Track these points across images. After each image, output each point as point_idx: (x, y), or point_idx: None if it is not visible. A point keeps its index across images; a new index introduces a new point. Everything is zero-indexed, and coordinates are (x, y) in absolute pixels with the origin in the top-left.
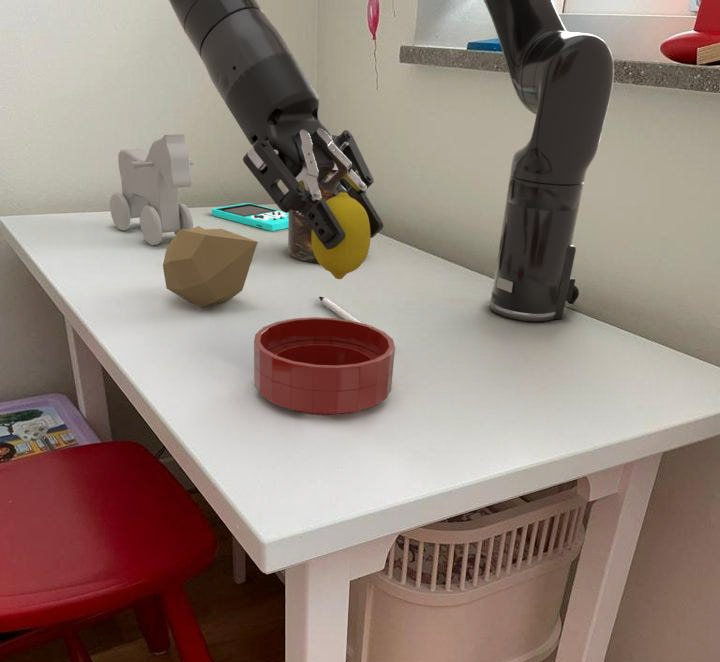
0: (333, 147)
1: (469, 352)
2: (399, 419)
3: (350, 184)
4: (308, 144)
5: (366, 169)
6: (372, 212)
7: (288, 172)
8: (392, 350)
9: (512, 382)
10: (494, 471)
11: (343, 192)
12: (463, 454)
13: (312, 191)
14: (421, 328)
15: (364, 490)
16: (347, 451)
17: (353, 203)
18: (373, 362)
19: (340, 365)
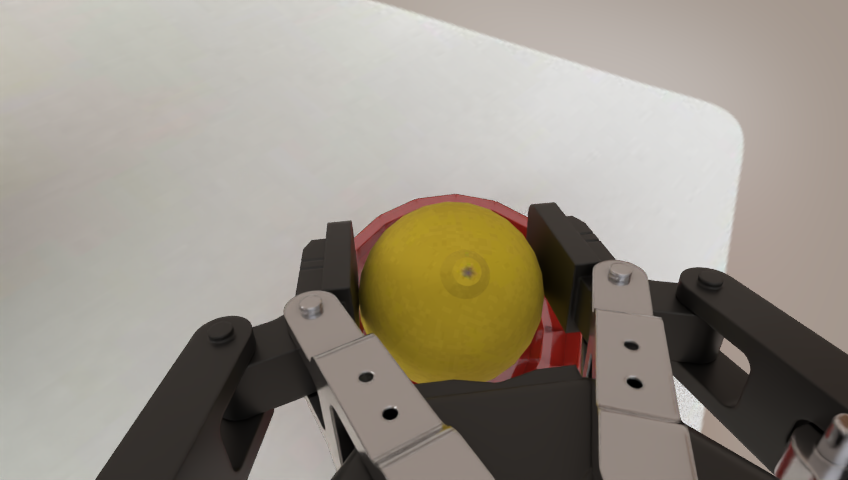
0: (392, 428)
1: (92, 270)
2: (429, 187)
3: (251, 425)
4: (634, 414)
5: (191, 366)
6: (348, 241)
7: (766, 333)
8: (395, 208)
9: (173, 145)
10: (452, 29)
11: (467, 271)
12: (445, 74)
13: (636, 279)
14: (26, 426)
15: (605, 105)
16: (556, 176)
17: (464, 224)
18: (465, 196)
19: (521, 222)
